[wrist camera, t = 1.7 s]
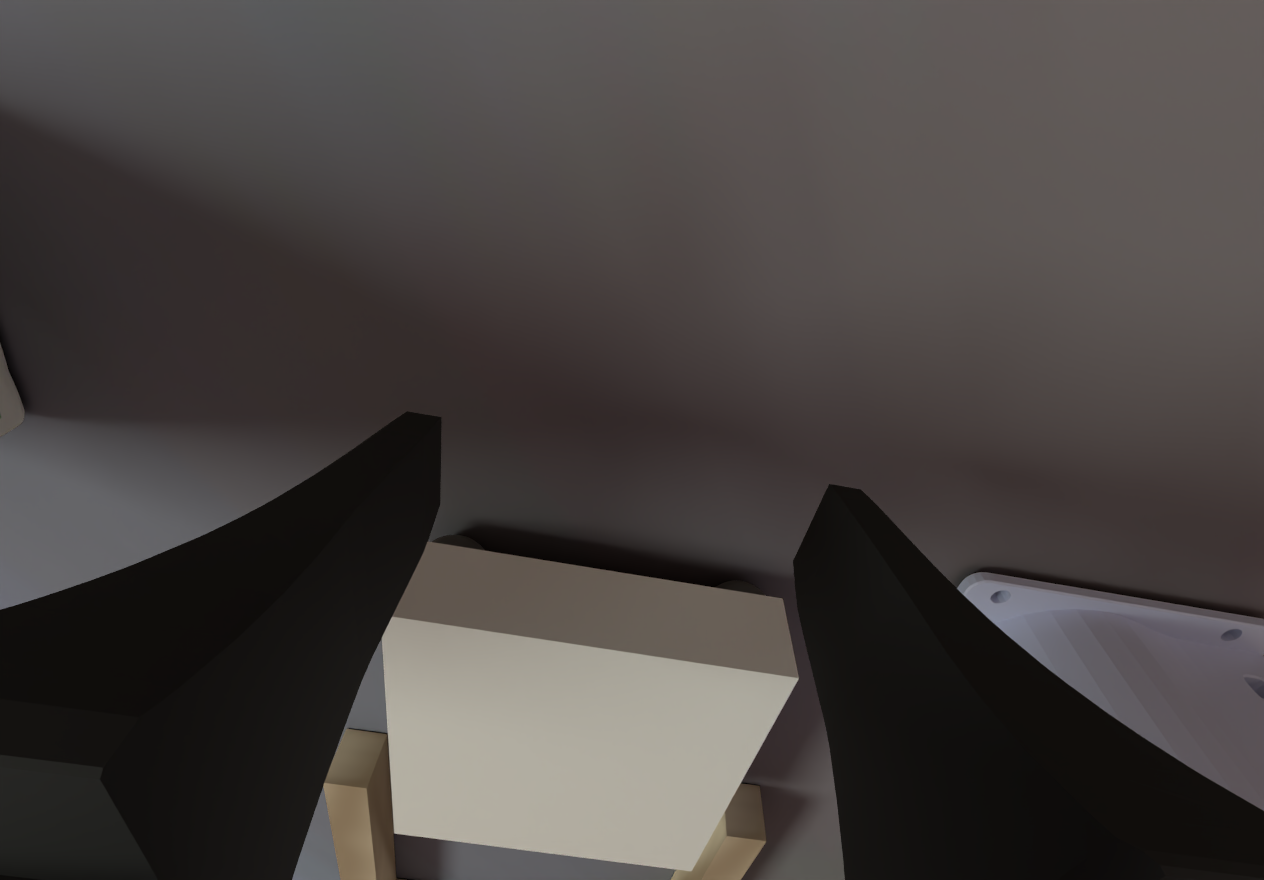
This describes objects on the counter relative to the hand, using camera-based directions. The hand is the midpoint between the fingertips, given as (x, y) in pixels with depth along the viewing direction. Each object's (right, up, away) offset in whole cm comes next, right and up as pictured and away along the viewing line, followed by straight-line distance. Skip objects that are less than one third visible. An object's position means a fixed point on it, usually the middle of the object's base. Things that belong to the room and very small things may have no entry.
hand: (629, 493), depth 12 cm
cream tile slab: (-2, -6, +9) cm, 11 cm away
